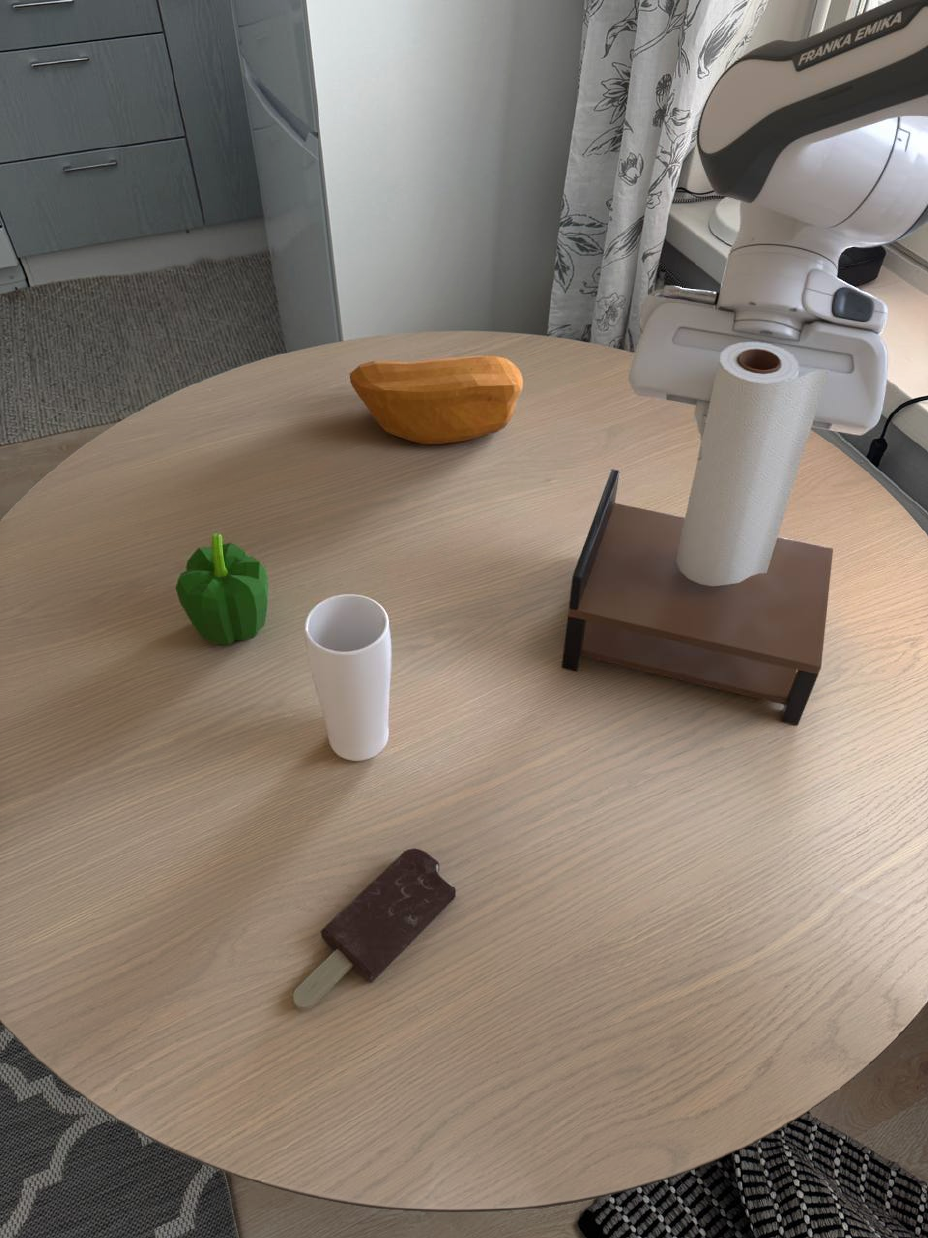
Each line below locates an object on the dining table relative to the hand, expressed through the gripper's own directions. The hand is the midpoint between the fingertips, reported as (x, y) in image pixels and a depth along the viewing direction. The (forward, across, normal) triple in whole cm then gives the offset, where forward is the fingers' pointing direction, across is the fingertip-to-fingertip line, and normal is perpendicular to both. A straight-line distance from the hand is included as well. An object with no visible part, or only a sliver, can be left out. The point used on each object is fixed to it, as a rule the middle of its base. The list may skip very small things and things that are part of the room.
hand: (733, 466), depth 82 cm
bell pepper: (+24, -43, +6) cm, 50 cm away
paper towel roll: (+8, 0, +9) cm, 12 cm away
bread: (-4, -36, +35) cm, 50 cm away
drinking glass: (+30, -26, 0) cm, 40 cm away
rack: (+14, 0, +15) cm, 21 cm away
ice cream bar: (+42, -18, -12) cm, 47 cm away
